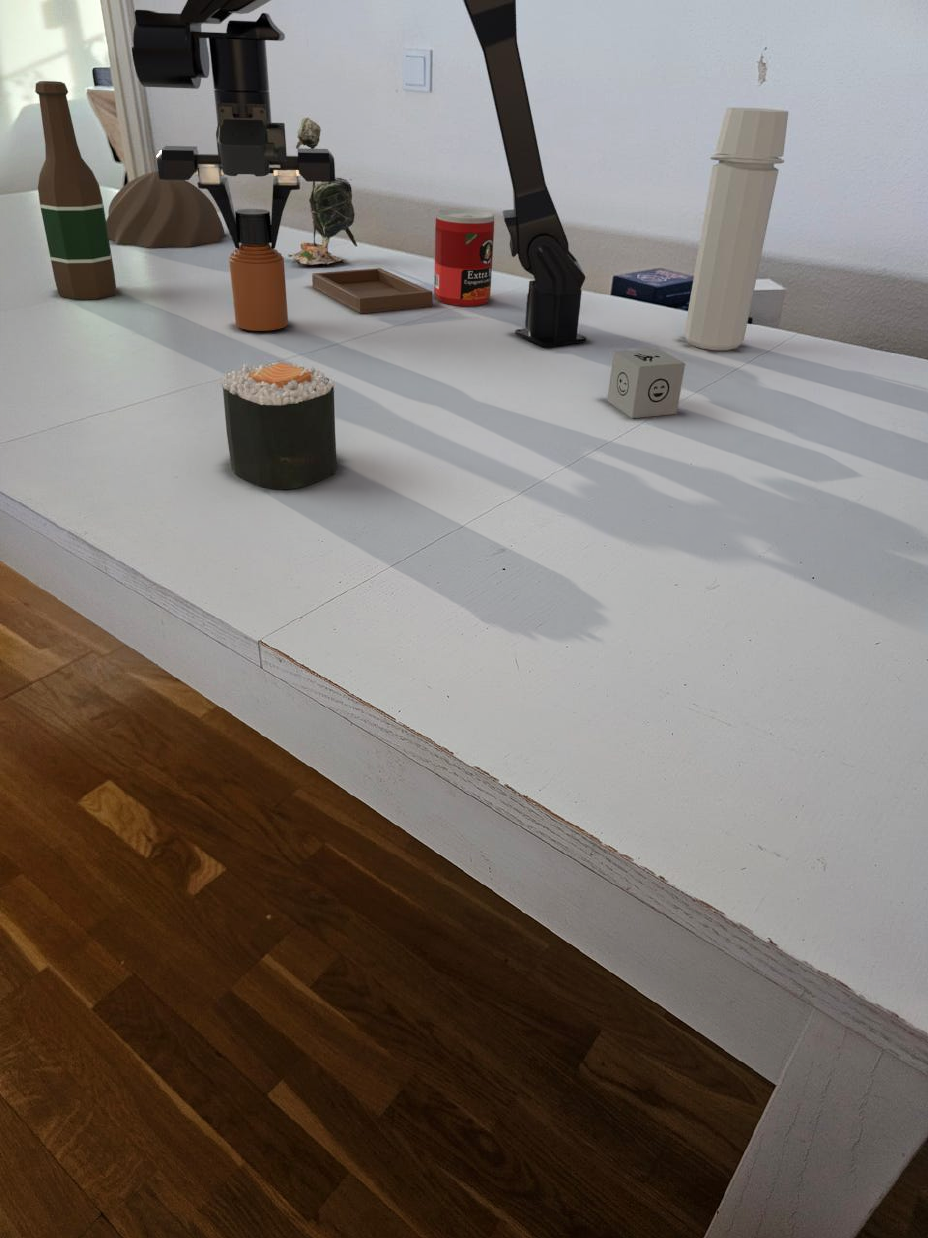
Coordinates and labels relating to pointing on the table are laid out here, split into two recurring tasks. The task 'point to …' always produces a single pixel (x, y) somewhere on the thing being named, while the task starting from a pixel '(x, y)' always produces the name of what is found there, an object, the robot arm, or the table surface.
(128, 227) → the decorative dome
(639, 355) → the dice cube
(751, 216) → the water bottle
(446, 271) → the canned food
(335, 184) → the plant with pod
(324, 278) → the tray
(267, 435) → the sushi
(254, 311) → the bottle
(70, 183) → the beer bottle
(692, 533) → the table surface
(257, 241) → the cap
